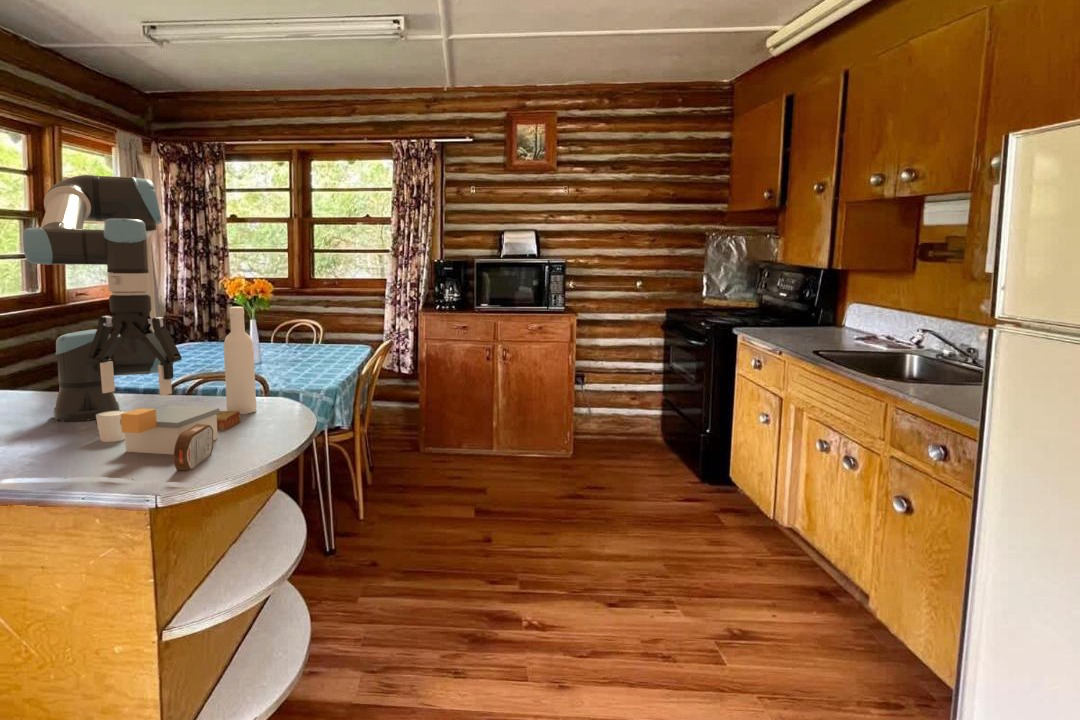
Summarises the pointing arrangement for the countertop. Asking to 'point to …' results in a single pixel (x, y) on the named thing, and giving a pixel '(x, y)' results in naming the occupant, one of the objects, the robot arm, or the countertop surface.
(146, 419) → the lid
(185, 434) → the tin
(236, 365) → the bottle
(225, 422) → the carton
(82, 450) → the countertop surface
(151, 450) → the tub
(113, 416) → the cream cylindrical piece
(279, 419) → the countertop surface
